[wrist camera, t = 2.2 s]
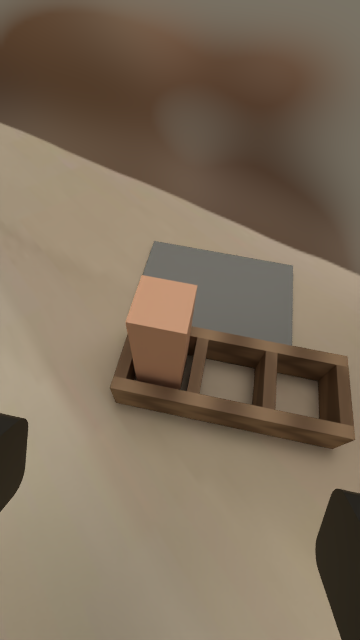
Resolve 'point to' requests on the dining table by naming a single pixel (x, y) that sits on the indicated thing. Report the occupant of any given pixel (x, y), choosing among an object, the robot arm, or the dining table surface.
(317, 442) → the stand
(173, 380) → the block
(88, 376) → the dining table surface
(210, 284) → the mat
